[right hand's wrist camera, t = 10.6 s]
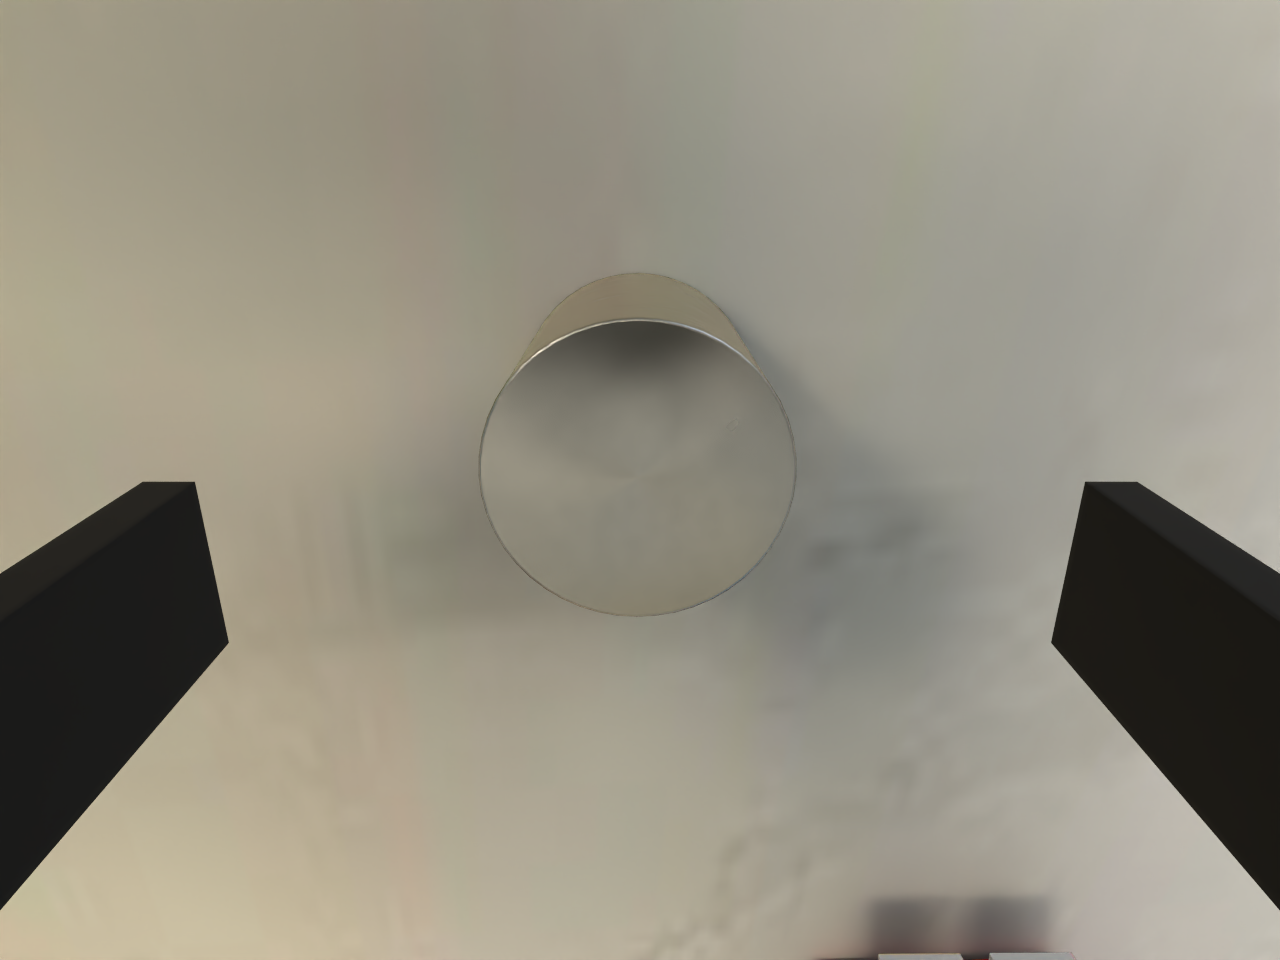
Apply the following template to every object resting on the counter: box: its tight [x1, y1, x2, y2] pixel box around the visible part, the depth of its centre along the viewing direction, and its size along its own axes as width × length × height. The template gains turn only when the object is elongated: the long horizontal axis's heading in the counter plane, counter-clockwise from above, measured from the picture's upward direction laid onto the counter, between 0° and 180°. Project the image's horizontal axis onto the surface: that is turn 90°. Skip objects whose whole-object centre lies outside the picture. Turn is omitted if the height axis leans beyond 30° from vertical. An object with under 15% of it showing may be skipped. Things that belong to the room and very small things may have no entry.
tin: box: [479, 273, 796, 617], centre depth 20 cm, size 6×6×8 cm
